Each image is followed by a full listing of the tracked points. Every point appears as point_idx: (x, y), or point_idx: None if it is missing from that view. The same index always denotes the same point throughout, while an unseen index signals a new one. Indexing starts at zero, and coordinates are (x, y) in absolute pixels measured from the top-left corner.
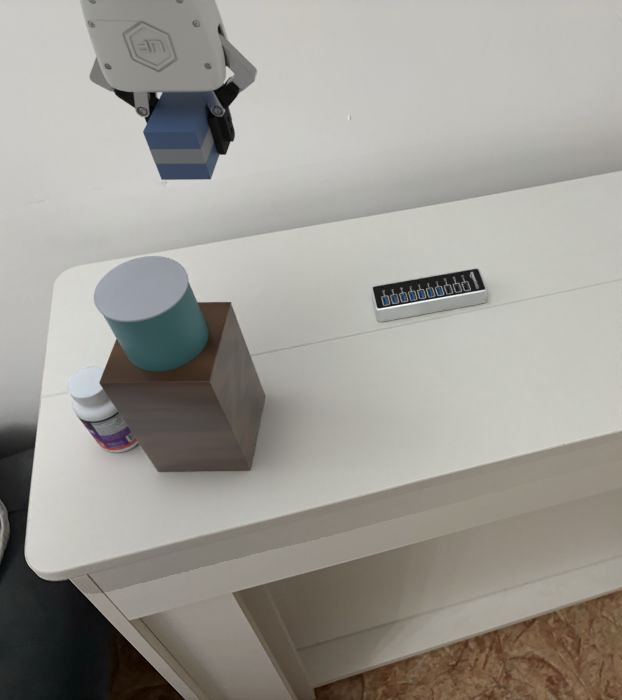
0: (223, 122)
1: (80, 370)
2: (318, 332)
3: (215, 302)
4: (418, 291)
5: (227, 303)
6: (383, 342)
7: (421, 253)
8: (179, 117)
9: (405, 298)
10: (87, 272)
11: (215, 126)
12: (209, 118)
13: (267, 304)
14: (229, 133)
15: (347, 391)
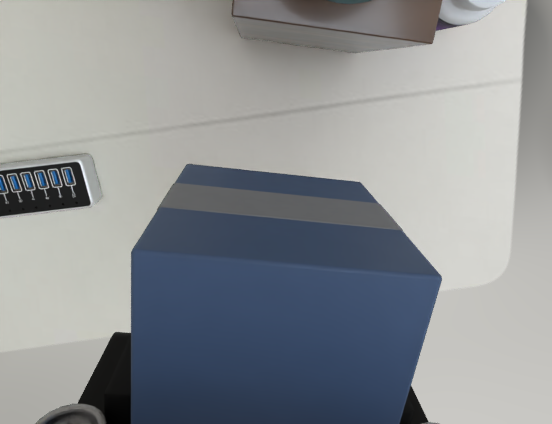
0: (96, 389)
1: (502, 2)
2: (175, 145)
3: (263, 18)
4: (20, 188)
5: (237, 10)
6: (79, 115)
7: (40, 275)
8: (250, 385)
9: (40, 178)
10: (479, 284)
11: (121, 362)
12: (126, 395)
13: None
14: (105, 353)
15: (124, 28)
